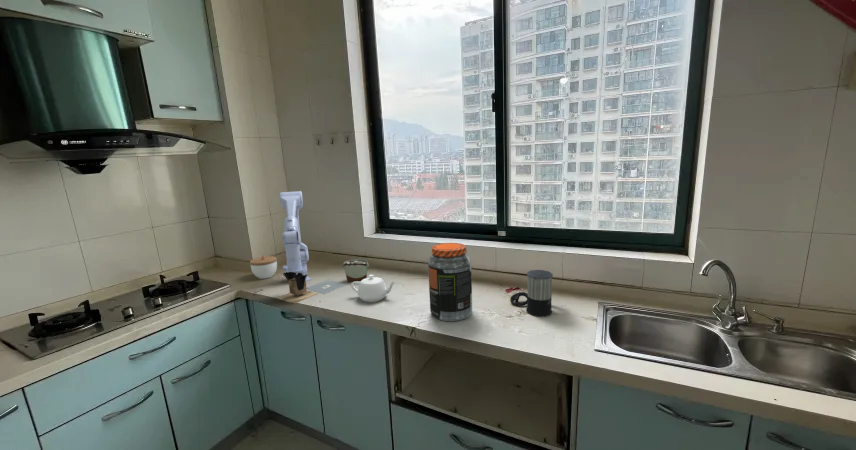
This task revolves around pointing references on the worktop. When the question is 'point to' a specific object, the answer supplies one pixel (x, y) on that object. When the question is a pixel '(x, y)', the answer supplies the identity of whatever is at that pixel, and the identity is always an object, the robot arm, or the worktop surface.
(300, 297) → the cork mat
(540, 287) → the milk frother
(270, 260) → the lidded bowl
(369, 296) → the teapot
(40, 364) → the worktop surface
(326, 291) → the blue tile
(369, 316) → the worktop surface
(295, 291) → the walnut block
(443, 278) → the supplement tub
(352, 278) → the food container
